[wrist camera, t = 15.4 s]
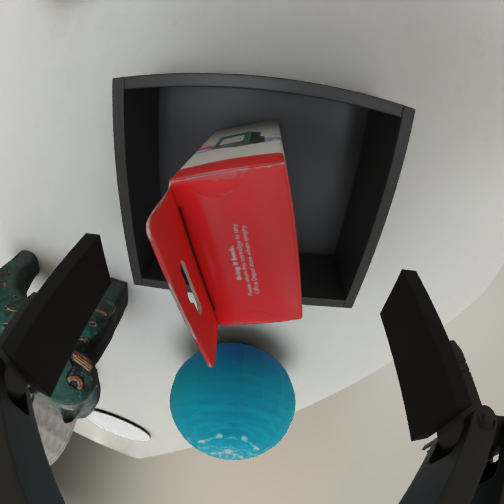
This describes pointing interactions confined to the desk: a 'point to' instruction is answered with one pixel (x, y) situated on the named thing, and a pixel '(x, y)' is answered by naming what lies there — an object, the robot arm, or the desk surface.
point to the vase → (51, 429)
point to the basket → (296, 155)
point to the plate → (118, 426)
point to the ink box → (230, 234)
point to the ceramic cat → (87, 348)
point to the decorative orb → (233, 402)
